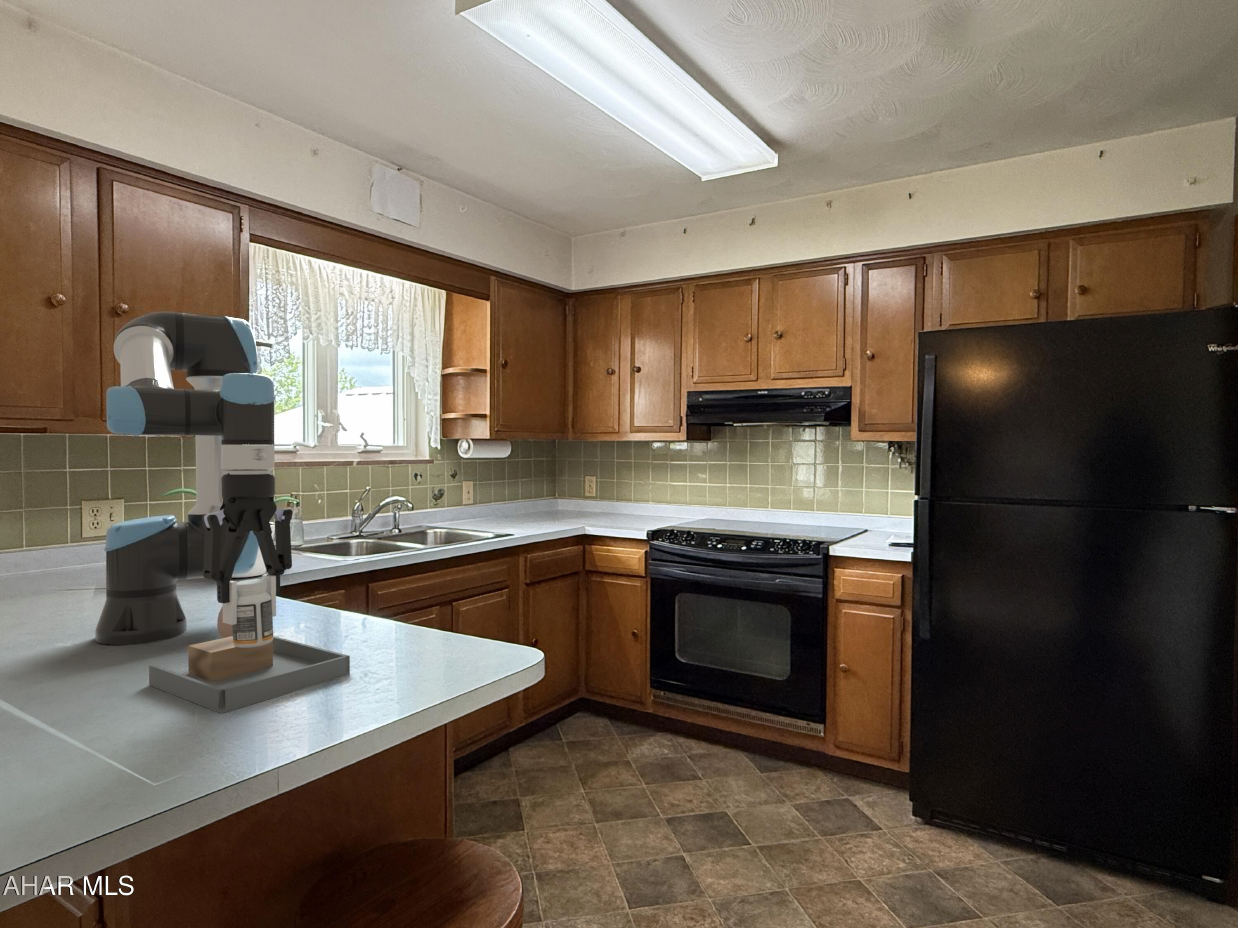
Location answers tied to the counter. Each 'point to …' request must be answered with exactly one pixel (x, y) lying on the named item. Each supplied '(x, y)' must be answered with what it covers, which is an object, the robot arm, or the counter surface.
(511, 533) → the counter surface
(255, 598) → the pill bottle
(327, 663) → the grey rimmed tray
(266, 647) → the brown rectangular block
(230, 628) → the egg
